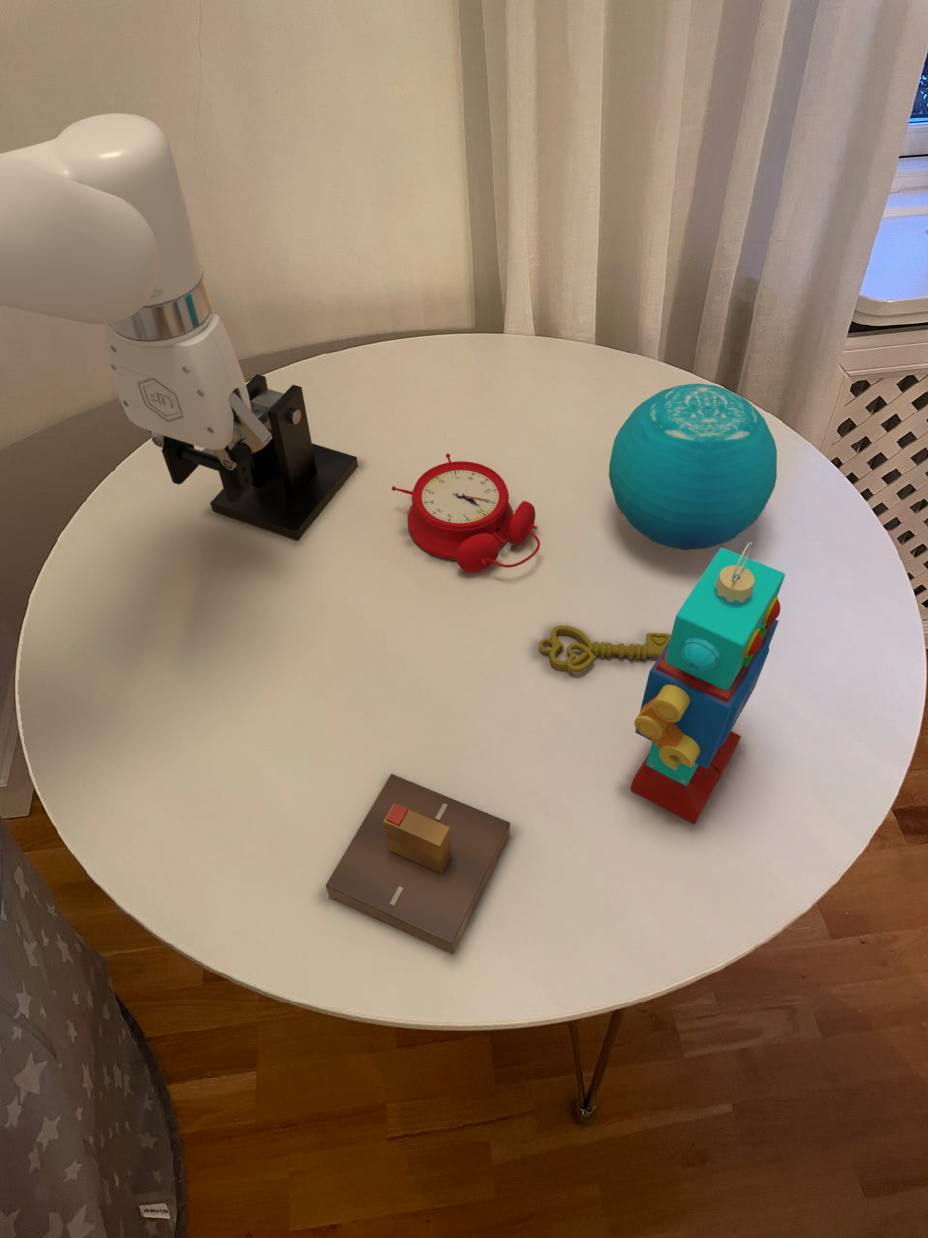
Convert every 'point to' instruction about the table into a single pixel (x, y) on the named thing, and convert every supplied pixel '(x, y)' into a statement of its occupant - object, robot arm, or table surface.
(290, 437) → the black handle mount
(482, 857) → the plate
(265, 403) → the door lever
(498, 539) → the alarm clock
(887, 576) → the table surface
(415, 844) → the thumbturn
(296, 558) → the table surface
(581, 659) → the key
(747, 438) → the decorative orb
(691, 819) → the toy robot
